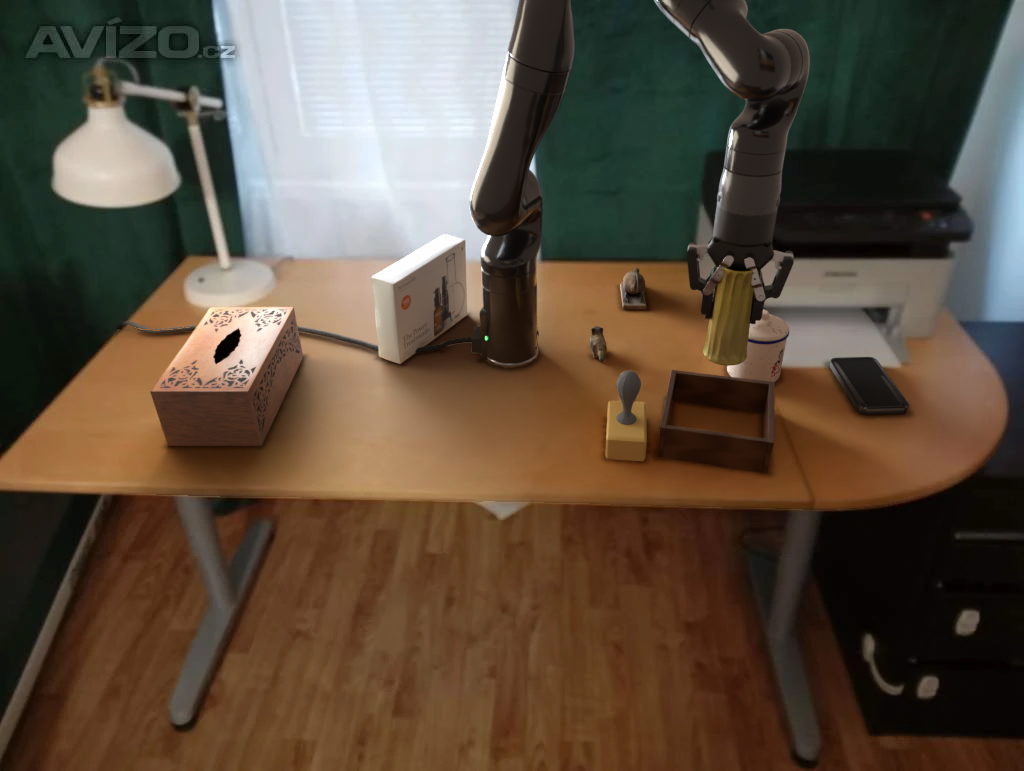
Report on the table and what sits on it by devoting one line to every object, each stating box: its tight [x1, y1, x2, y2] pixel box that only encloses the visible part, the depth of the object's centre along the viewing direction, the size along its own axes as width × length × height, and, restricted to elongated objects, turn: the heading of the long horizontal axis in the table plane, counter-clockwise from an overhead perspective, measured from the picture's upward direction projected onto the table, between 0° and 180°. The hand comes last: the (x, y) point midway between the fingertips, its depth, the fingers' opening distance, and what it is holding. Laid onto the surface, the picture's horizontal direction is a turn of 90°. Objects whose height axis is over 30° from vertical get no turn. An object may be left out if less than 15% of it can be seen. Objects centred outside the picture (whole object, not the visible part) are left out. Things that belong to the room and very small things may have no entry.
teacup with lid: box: [726, 308, 790, 383], centre depth 135 cm, size 12×9×12 cm
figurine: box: [619, 267, 647, 310], centre depth 157 cm, size 14×4×9 cm, turn 177°
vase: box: [702, 267, 759, 367], centre depth 112 cm, size 6×6×14 cm
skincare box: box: [370, 233, 468, 365], centre depth 146 cm, size 21×5×16 cm, turn 148°
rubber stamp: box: [604, 370, 648, 462], centre depth 120 cm, size 10×6×12 cm, turn 173°
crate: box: [656, 369, 776, 474], centre depth 122 cm, size 16×16×6 cm
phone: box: [829, 356, 910, 416], centre depth 132 cm, size 8×1×15 cm
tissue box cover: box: [149, 306, 304, 447], centre depth 132 cm, size 26×14×10 cm, turn 178°
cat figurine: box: [589, 325, 608, 363], centre depth 142 cm, size 3×8×4 cm, turn 4°
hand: (730, 318), depth 113 cm, fingers closed on vase, 5 cm apart
